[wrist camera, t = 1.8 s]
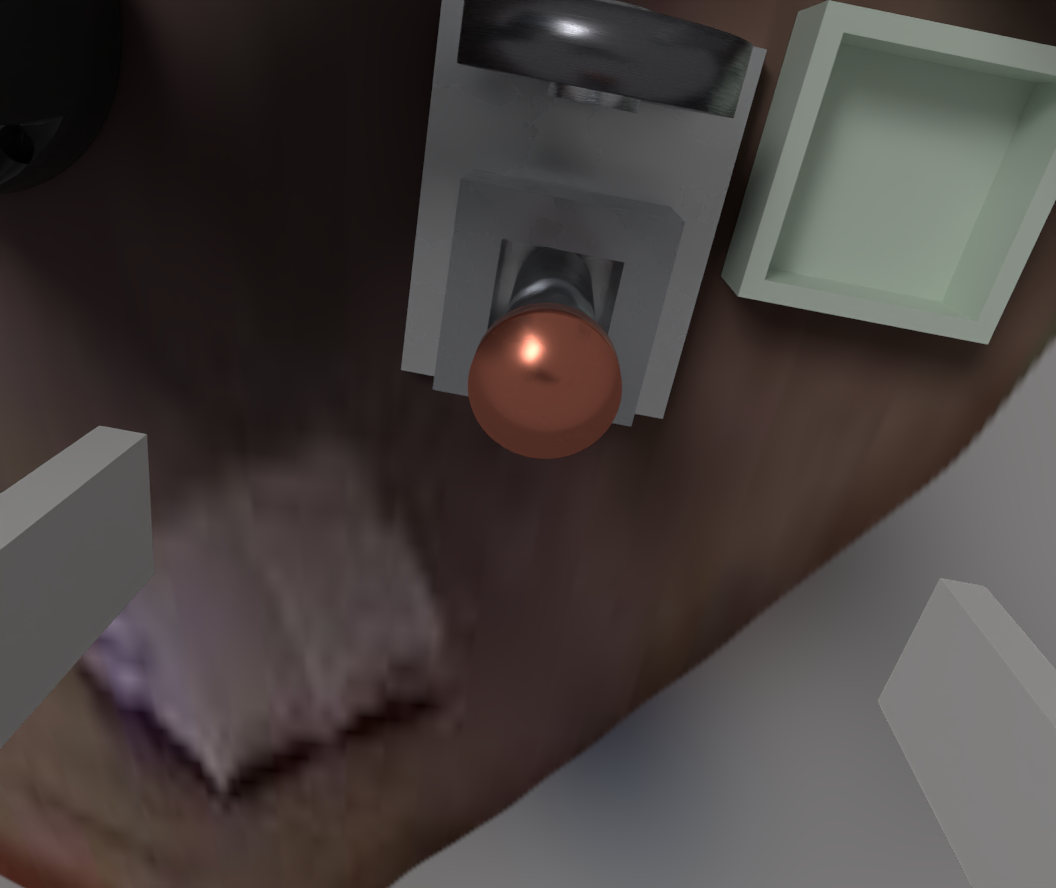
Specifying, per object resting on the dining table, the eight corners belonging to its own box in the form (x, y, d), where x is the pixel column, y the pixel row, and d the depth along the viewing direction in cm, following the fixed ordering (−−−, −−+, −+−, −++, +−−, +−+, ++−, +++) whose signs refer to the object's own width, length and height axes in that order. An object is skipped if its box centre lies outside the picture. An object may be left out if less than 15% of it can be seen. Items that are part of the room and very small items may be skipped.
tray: (720, 276, 32) (737, 296, 28) (798, 11, 27) (828, 0, 24) (945, 319, 32) (987, 344, 29) (1056, 64, 28) (1121, 60, 24)
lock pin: (496, 324, 32) (457, 444, 21) (513, 226, 30) (479, 300, 19) (591, 342, 32) (603, 471, 21) (613, 245, 30) (638, 330, 19)
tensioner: (406, 361, 34) (345, 458, 25) (448, -12, 28) (387, -66, 19) (659, 408, 34) (692, 522, 25) (759, 51, 28) (852, 28, 19)
